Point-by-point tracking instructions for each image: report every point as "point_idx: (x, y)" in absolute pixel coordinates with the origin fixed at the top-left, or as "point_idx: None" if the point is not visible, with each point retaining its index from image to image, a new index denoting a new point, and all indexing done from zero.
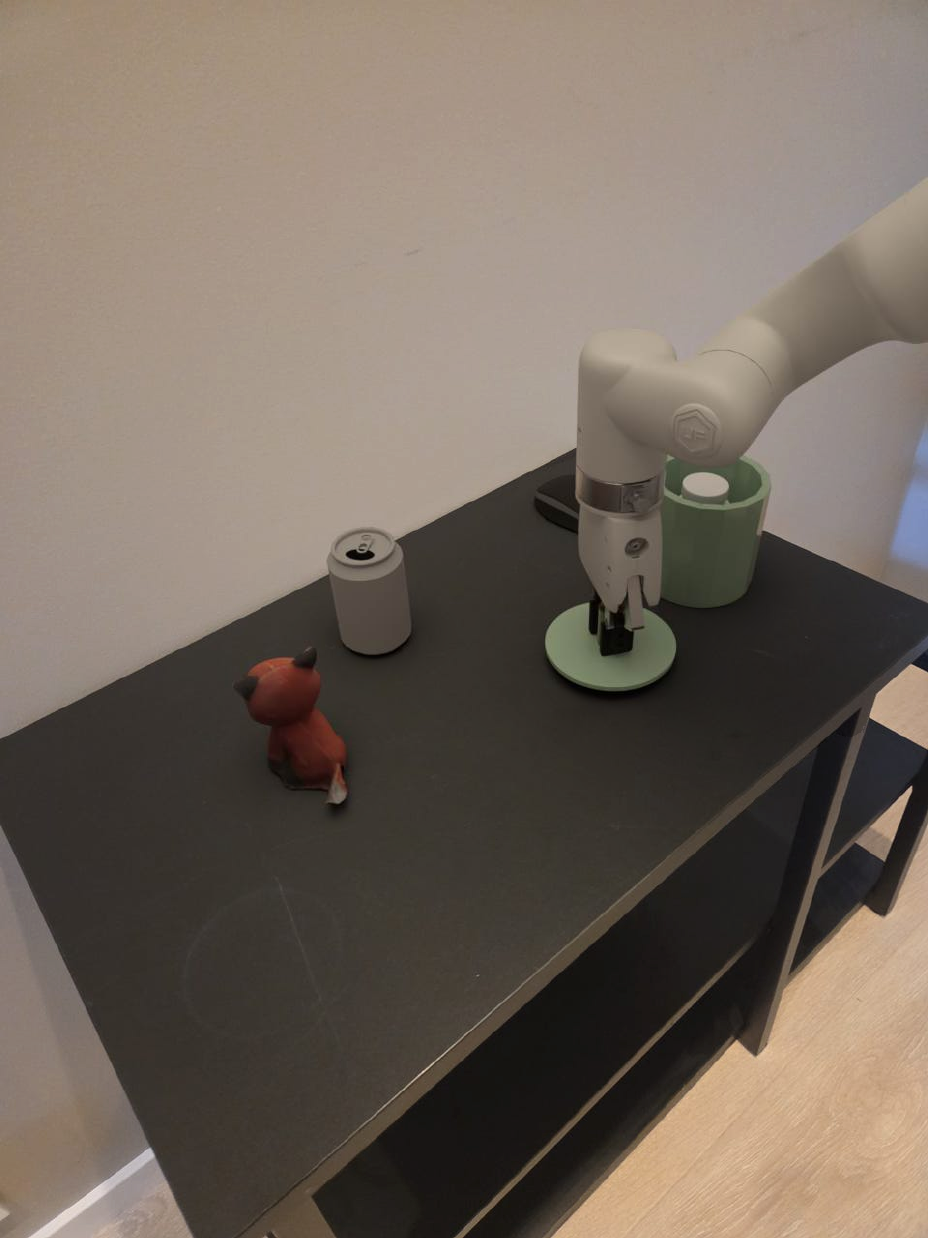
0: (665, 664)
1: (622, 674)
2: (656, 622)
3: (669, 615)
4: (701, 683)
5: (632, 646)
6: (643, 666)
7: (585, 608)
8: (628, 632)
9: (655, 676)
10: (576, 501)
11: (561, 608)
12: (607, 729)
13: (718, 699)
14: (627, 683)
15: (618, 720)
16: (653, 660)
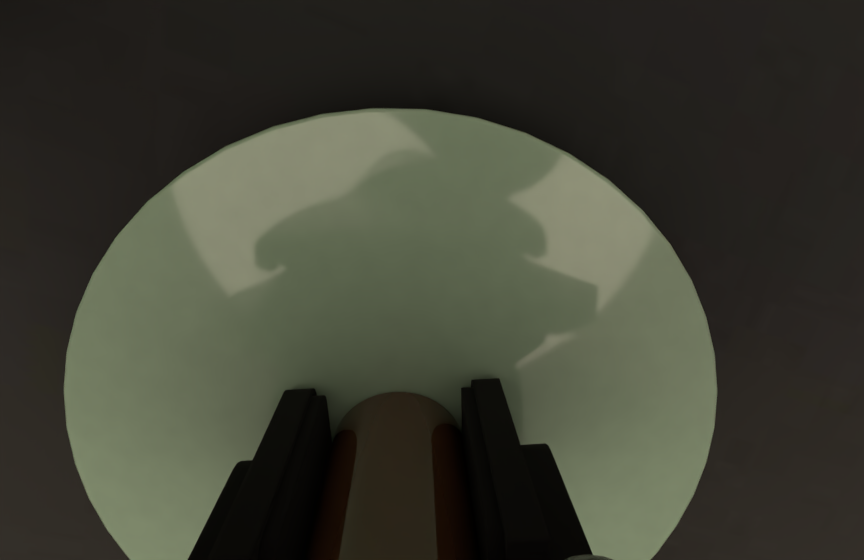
0: (645, 244)
1: (636, 452)
2: (293, 176)
3: (133, 14)
4: (668, 45)
5: (502, 389)
6: (618, 351)
7: (127, 492)
8: (586, 539)
9: (703, 318)
10: None
11: (61, 493)
12: (752, 479)
13: (791, 3)
14: (695, 446)
15: (729, 438)
16: (596, 294)
